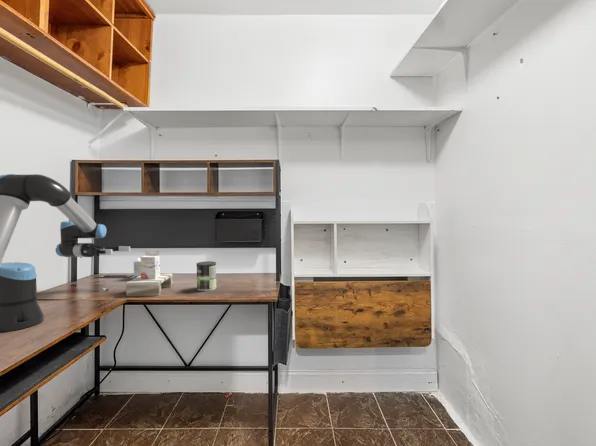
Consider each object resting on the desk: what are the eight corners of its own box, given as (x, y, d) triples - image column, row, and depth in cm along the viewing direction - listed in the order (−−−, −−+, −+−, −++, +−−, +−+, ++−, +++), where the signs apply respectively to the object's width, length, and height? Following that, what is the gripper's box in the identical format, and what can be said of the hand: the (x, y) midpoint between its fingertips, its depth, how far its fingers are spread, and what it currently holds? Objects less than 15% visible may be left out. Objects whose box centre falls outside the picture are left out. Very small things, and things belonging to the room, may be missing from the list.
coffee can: (199, 292, 164) (199, 265, 163) (194, 287, 173) (194, 262, 172) (219, 289, 170) (218, 263, 169) (213, 285, 178) (212, 260, 178)
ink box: (145, 280, 192) (145, 258, 191) (133, 280, 193) (132, 258, 193) (154, 277, 200) (154, 256, 199) (143, 277, 202) (142, 256, 201)
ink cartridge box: (140, 278, 165) (139, 250, 164) (145, 276, 170) (145, 249, 169) (155, 279, 164) (154, 251, 163) (160, 276, 169) (159, 249, 168)
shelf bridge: (159, 295, 158) (158, 281, 158) (126, 296, 157) (125, 282, 157) (172, 285, 178) (172, 273, 178) (143, 286, 177) (143, 274, 177)
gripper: (103, 253, 182) (136, 254, 179) (65, 260, 158) (103, 260, 155) (102, 241, 182) (136, 241, 179) (65, 245, 157) (103, 245, 154)
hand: (121, 250), depth 167 cm, fingers open, 13 cm apart
